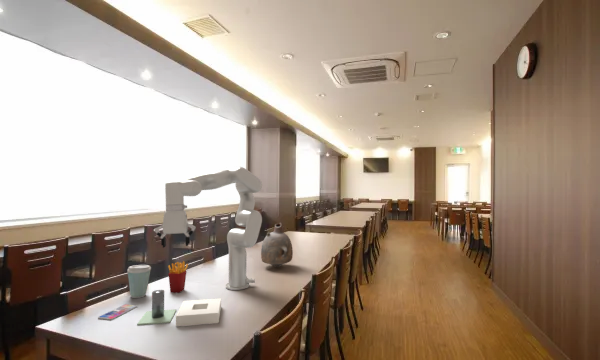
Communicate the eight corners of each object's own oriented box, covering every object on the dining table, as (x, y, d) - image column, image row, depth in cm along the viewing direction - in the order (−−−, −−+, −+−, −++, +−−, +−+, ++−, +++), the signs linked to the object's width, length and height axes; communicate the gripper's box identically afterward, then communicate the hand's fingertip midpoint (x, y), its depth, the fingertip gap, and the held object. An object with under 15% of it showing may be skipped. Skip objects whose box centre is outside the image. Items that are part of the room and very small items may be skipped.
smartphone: (138, 305, 136) (111, 319, 121) (138, 307, 136) (111, 321, 121) (124, 303, 138) (96, 317, 123) (124, 305, 137) (96, 319, 123)
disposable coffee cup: (134, 292, 155) (135, 262, 155) (155, 292, 155) (155, 263, 155) (121, 299, 144) (122, 268, 145) (143, 299, 144) (144, 268, 144)
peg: (165, 313, 127) (165, 289, 127) (162, 318, 122) (162, 293, 123) (153, 314, 126) (153, 290, 126) (150, 318, 121) (150, 294, 122)
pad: (176, 310, 131) (176, 309, 131) (169, 322, 119) (169, 321, 119) (146, 312, 129) (146, 311, 129) (137, 325, 117) (137, 323, 117)
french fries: (179, 293, 152) (179, 264, 153) (164, 292, 154) (165, 263, 155) (189, 288, 161) (189, 260, 162) (175, 287, 163) (175, 259, 163)
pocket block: (221, 307, 135) (221, 298, 135) (218, 322, 119) (218, 312, 119) (183, 310, 132) (183, 300, 132) (175, 326, 116) (175, 316, 116)
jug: (252, 268, 202) (253, 223, 203) (273, 261, 220) (273, 220, 221) (281, 273, 188) (281, 225, 189) (300, 266, 206) (300, 222, 207)
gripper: (196, 206, 141) (196, 243, 141) (156, 208, 137) (157, 245, 137) (193, 208, 134) (194, 246, 134) (152, 209, 130) (152, 249, 130)
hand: (175, 246), depth 136 cm, fingers open, 9 cm apart
